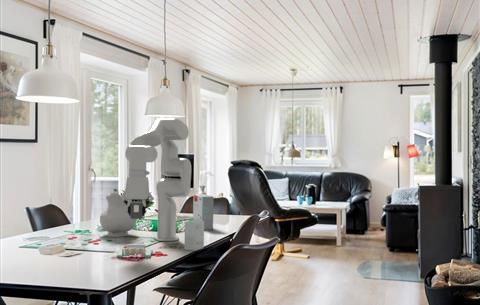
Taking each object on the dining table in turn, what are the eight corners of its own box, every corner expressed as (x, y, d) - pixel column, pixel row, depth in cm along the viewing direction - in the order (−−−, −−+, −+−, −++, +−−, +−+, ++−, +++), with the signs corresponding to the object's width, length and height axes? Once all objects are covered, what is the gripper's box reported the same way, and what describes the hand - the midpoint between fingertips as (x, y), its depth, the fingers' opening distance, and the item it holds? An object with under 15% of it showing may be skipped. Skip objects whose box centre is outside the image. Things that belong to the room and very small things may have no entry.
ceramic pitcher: (93, 235, 281) (91, 190, 280) (126, 230, 293) (124, 186, 291) (109, 241, 264) (106, 193, 262) (143, 235, 275) (141, 189, 274)
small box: (192, 246, 247) (193, 219, 247) (204, 248, 244) (204, 220, 244) (183, 249, 240) (184, 221, 240) (195, 250, 237) (196, 222, 237)
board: (121, 251, 232) (121, 243, 232) (152, 251, 233) (152, 243, 233) (116, 258, 218) (116, 249, 218) (150, 257, 219) (150, 249, 219)
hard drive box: (192, 226, 314) (193, 194, 314) (204, 226, 317) (204, 194, 317) (201, 230, 300) (202, 196, 300) (213, 229, 303) (214, 196, 303)
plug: (131, 217, 227) (131, 201, 227) (142, 217, 228) (143, 201, 228) (130, 219, 222) (130, 202, 222) (141, 219, 223) (142, 202, 223)
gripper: (157, 173, 230) (156, 214, 230) (118, 173, 228) (118, 214, 228) (156, 174, 223) (155, 216, 223) (116, 174, 221) (115, 216, 221)
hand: (136, 214), depth 225 cm, fingers closed on plug, 5 cm apart
